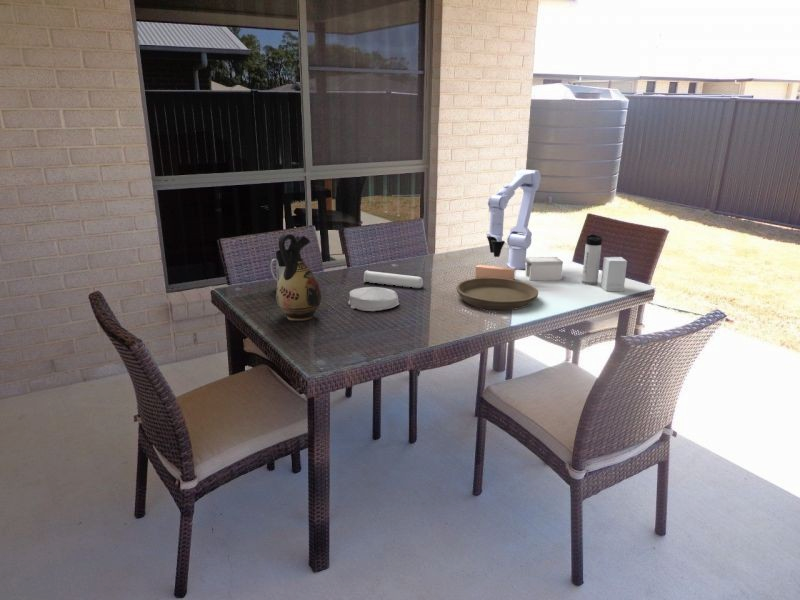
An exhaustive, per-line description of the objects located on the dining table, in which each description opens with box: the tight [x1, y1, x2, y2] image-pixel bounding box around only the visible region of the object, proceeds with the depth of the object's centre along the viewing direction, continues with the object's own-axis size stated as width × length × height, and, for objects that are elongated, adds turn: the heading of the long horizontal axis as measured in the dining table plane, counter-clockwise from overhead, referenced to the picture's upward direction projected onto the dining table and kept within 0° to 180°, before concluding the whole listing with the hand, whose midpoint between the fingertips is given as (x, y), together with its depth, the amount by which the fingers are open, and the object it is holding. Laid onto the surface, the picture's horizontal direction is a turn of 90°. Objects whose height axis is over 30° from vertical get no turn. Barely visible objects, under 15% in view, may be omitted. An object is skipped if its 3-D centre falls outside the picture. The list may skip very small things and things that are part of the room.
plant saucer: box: [456, 278, 539, 311], centre depth 232 cm, size 31×31×5 cm
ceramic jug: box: [275, 232, 322, 322], centre depth 207 cm, size 17×15×30 cm
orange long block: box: [474, 264, 516, 280], centre depth 260 cm, size 4×16×5 cm, turn 70°
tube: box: [363, 269, 424, 289], centre depth 249 cm, size 5×5×25 cm
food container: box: [347, 286, 400, 312], centre depth 226 cm, size 20×20×7 cm
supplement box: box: [600, 256, 628, 292], centre depth 245 cm, size 7×7×13 cm
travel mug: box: [581, 234, 603, 286], centre depth 252 cm, size 6×7×20 cm
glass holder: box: [270, 249, 291, 284], centre depth 241 cm, size 9×14×15 cm, turn 155°
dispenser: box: [524, 256, 564, 281], centre depth 261 cm, size 8×15×8 cm, turn 94°
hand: (494, 254), depth 262 cm, fingers open, 7 cm apart
